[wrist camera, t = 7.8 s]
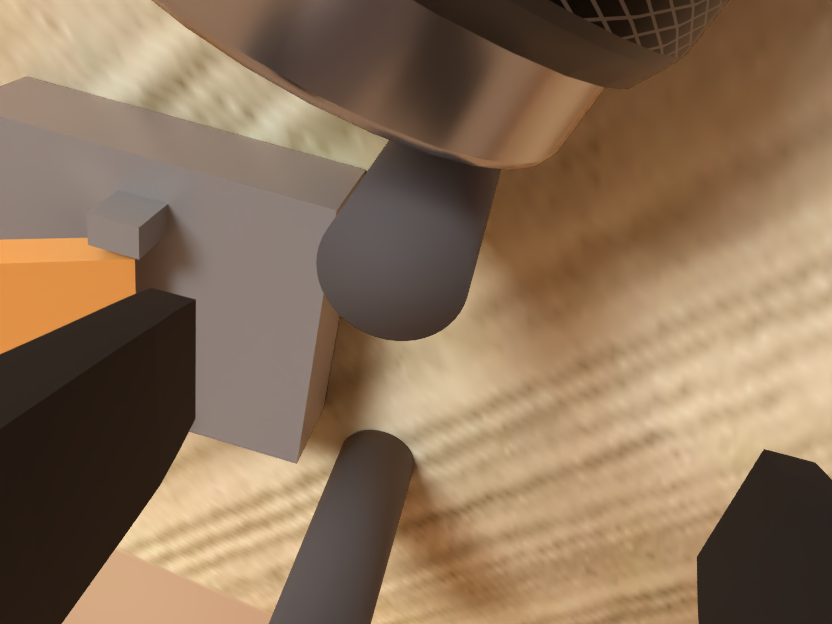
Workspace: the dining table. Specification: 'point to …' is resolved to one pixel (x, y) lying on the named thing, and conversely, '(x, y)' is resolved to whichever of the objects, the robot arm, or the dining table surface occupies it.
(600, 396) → the dining table surface
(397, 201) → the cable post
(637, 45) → the muzzle brake
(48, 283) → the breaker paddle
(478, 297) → the dining table surface
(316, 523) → the cylinder
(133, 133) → the switch box
